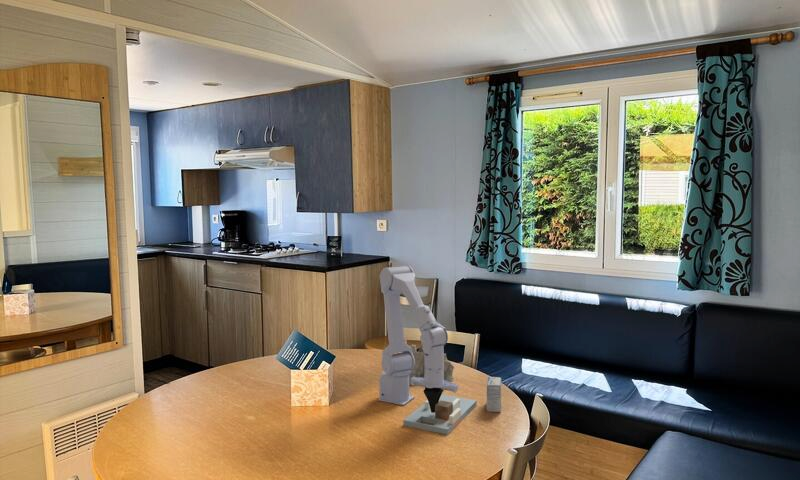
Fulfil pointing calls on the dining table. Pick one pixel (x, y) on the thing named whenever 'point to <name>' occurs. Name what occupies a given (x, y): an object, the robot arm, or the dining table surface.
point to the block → (443, 410)
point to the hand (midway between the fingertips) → (433, 411)
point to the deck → (441, 426)
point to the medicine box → (494, 394)
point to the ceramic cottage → (419, 366)
